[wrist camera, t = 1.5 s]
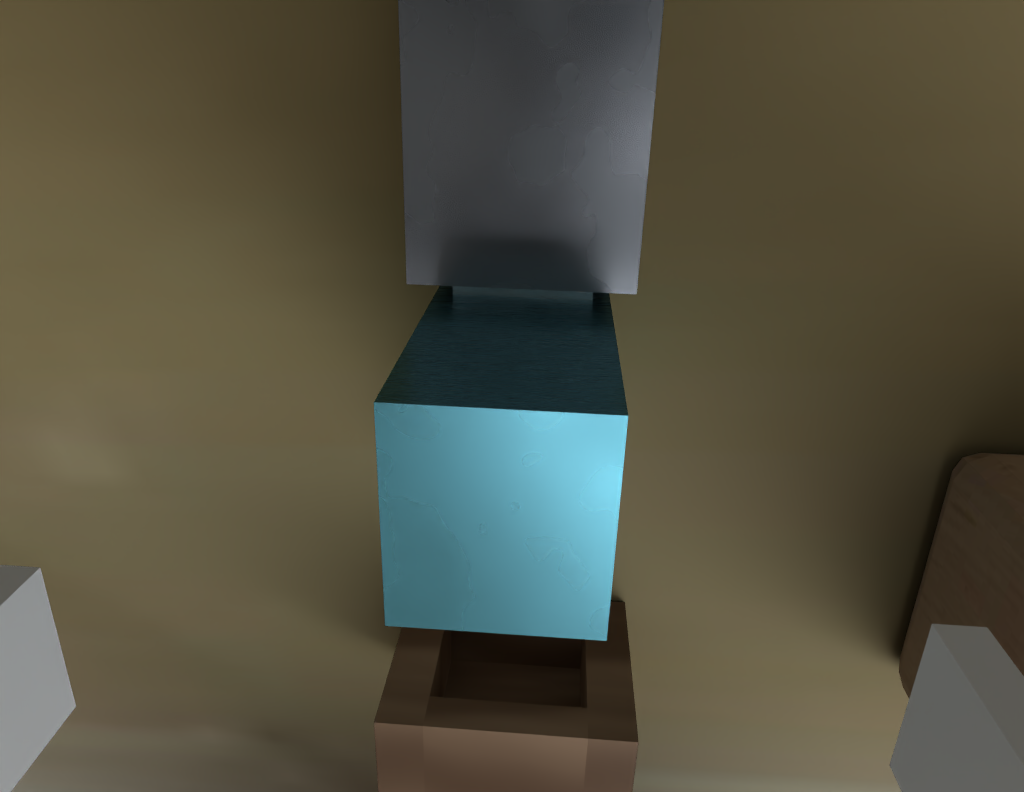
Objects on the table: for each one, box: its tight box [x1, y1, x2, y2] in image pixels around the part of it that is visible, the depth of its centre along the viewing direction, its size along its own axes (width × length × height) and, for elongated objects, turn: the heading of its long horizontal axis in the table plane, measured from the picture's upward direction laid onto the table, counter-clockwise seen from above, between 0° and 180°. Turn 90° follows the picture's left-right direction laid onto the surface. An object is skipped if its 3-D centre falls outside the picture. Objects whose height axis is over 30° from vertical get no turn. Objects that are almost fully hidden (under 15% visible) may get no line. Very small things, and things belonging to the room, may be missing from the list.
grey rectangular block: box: [398, 0, 664, 294], centre depth 19 cm, size 11×6×6 cm, turn 178°
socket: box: [374, 601, 638, 792], centre depth 27 cm, size 4×8×6 cm, turn 88°
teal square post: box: [374, 286, 628, 641], centre depth 18 cm, size 19×4×10 cm, turn 178°
